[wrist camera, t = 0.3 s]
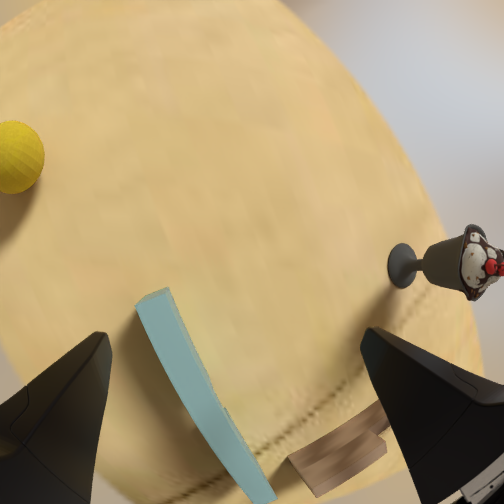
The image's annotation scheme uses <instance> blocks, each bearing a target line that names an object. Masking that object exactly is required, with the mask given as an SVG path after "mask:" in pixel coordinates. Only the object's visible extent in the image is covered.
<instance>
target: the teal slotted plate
mask: <svg viewBox="0 0 504 504" xmlns="http://www.w3.org/2000/svg"><path fill="white" fill-rule="evenodd" d="M135 308H136V310H137V312H138V315H139V317H140V319H141V322H142V324H143V326H144V328H145V330H146V333H147V335H148V337H149V339H150V341H151V343H152V345H153V347H154V350H155V352H156V354H157V356H158V358H159V360H160V362H161V364H162V365H163V367H164V369H165V371H166V373H167V375H168V377H169V379H170V381H171V383H172V384H173V386H174V388H175V390H176V392H177V393H178V395H179V397H180V399H181V400H182V402H183V404H184V406H185V407H186V409H187V411H188V412H189V414H190V416H191V417H192V419H193V420H194V422H195V424H196V425H197V427H198V428H199V430H200V432H201V433H202V435H203V436H204V438H205V439H206V441H207V442H208V444H209V445H210V447H211V448H212V450H213V451H214V453H215V454H216V455H217V457H218V458H219V460H220V461H221V462H222V464H223V465H224V467H225V468H226V469H227V471H228V472H229V473H230V475H231V476H232V477H233V479H234V480H235V481H236V483H237V484H238V485H239V486H240V488H241V489H242V490H243V491H244V493H245V494H246V495H247V496H248V498H249V499H250V500H251V501H252V502H253V504H267V503H269V502H272V501H274V500H276V499H278V498H277V496H276V495H275V493H274V491H273V489H272V488H271V486H270V484H269V482H268V480H267V479H266V477H265V475H264V473H263V471H262V469H261V467H260V465H259V464H258V462H257V460H256V459H255V457H254V456H253V454H252V452H251V451H250V449H249V447H248V446H247V444H246V442H245V441H244V439H243V437H242V436H241V434H240V432H239V431H238V429H237V427H236V425H235V424H234V422H233V420H232V418H231V417H230V415H229V413H228V411H227V409H226V408H223V406H222V405H221V403H220V401H219V399H218V397H217V395H216V393H215V392H214V389H213V387H212V384H211V381H210V378H209V375H208V373H207V371H206V369H205V367H204V365H203V363H202V361H201V359H200V357H199V355H198V353H197V351H196V349H195V347H194V345H193V342H192V340H191V338H190V336H189V334H188V331H187V329H186V327H185V325H184V323H183V320H182V318H181V316H180V313H179V311H178V309H177V306H176V304H175V302H174V299H173V297H172V295H171V292H170V290H169V287H166V288H163V289H161V290H158V291H156V292H153V293H151V294H148V295H146V296H145V297H143V298H142V299H141V300H140V301H139V302H138V303H137V304H136V305H135Z"/></svg>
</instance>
